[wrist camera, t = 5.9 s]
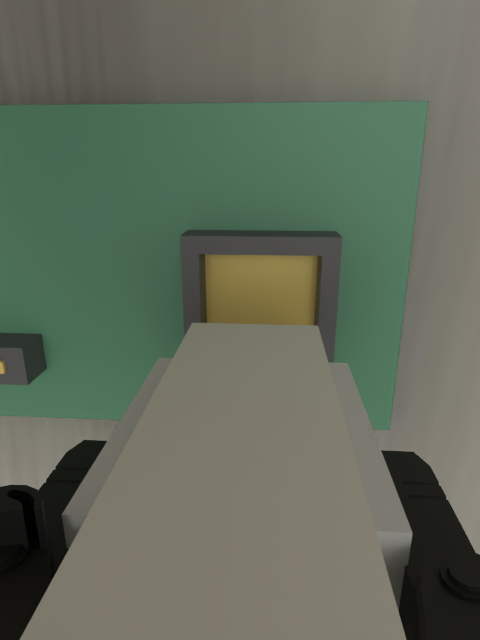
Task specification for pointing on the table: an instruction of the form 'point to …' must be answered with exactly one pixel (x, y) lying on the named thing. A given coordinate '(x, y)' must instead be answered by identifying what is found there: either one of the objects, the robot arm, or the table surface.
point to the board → (199, 239)
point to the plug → (230, 508)
